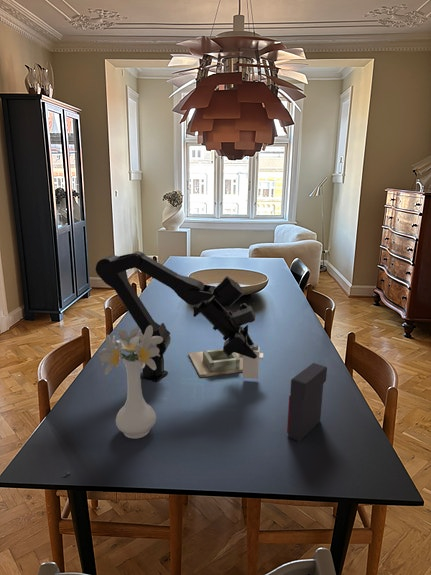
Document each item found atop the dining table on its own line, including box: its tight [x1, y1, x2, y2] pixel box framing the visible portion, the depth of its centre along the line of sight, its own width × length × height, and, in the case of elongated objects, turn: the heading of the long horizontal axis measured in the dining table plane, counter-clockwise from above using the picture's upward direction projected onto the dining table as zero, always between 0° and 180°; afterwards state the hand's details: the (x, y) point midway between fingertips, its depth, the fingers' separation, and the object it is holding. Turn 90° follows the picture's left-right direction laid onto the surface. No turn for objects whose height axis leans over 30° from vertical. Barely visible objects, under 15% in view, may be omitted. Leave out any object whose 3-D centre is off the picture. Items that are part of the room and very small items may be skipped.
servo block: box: [239, 344, 264, 380], centre depth 120 cm, size 7×4×9 cm, turn 83°
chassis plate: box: [188, 348, 243, 378], centre depth 133 cm, size 16×16×4 cm
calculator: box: [286, 362, 328, 442], centre depth 97 cm, size 11×4×15 cm, turn 141°
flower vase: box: [97, 325, 163, 440], centre depth 95 cm, size 13×18×25 cm
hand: (256, 354), depth 119 cm, fingers closed on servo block, 4 cm apart
